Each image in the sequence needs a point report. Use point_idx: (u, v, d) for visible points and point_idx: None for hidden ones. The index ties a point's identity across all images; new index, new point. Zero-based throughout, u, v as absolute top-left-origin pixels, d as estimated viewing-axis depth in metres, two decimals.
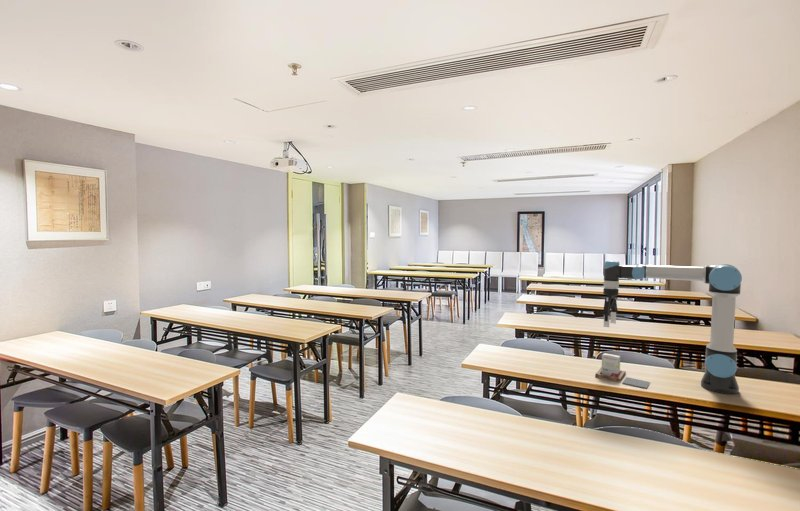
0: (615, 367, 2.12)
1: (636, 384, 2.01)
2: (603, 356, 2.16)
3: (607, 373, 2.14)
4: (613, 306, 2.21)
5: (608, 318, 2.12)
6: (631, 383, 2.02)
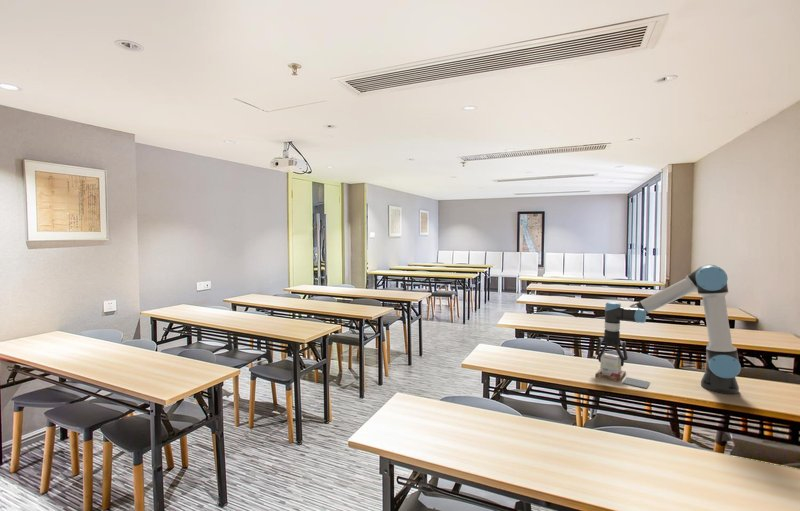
0: (615, 367, 2.12)
1: (636, 384, 2.01)
2: (603, 356, 2.15)
3: (607, 373, 2.14)
4: None
5: (600, 359, 2.18)
6: (631, 383, 2.02)
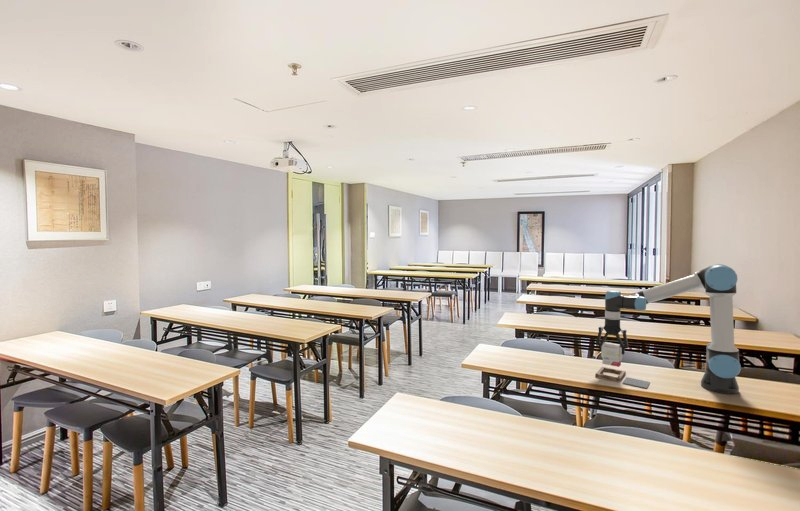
0: (616, 356, 2.11)
1: (636, 384, 2.01)
2: (604, 345, 2.15)
3: (608, 362, 2.14)
4: None
5: (601, 348, 2.17)
6: (631, 383, 2.02)
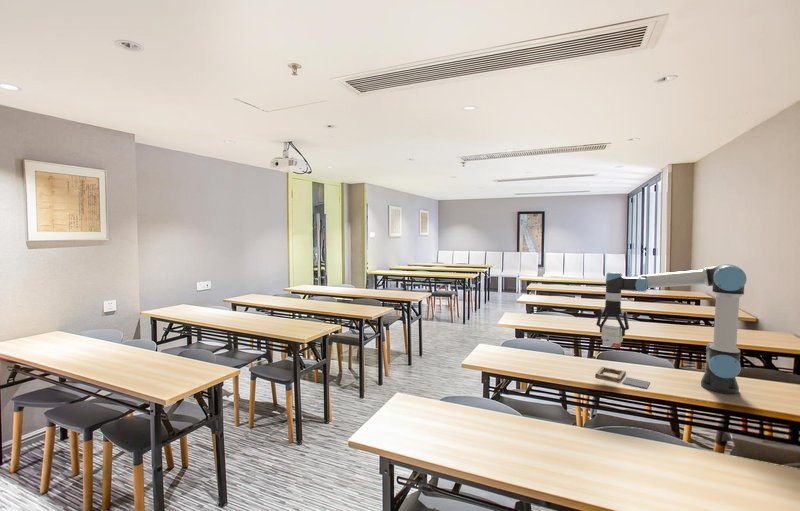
0: (616, 337, 2.11)
1: (636, 384, 2.01)
2: (604, 326, 2.15)
3: (608, 343, 2.13)
4: None
5: (601, 330, 2.17)
6: (631, 383, 2.02)
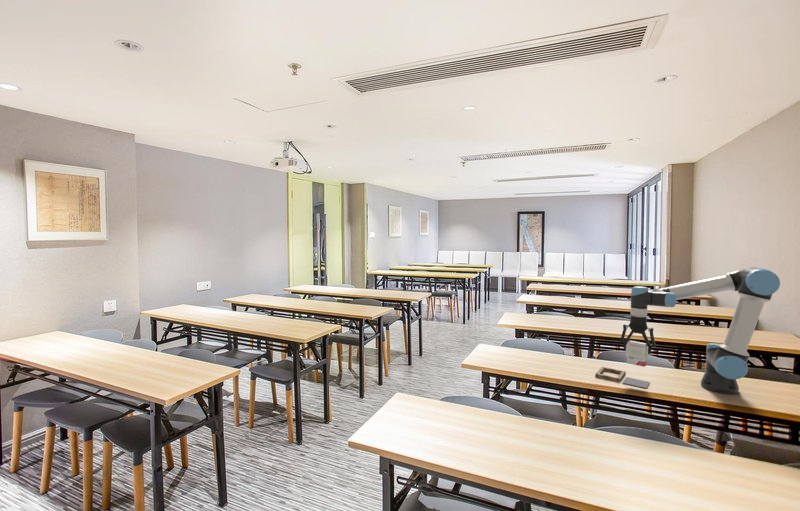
0: (641, 355, 2.00)
1: (636, 384, 2.01)
2: (629, 343, 2.04)
3: (633, 361, 2.02)
4: None
5: (626, 347, 2.06)
6: (631, 383, 2.02)
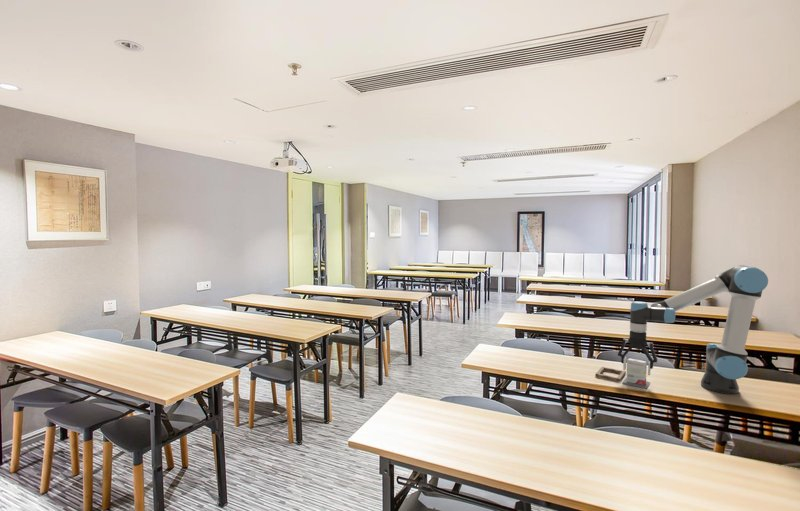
0: (641, 373, 2.00)
1: (636, 384, 2.01)
2: (628, 362, 2.04)
3: (633, 380, 2.03)
4: None
5: (623, 360, 2.07)
6: (631, 383, 2.02)
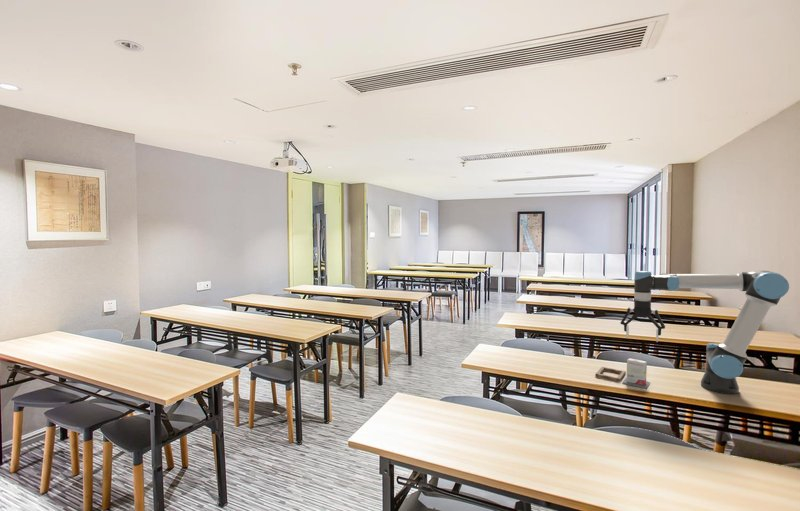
0: (641, 373, 2.00)
1: (636, 384, 2.01)
2: (628, 362, 2.04)
3: (633, 380, 2.03)
4: (652, 321, 2.02)
5: (626, 328, 2.08)
6: (631, 383, 2.02)
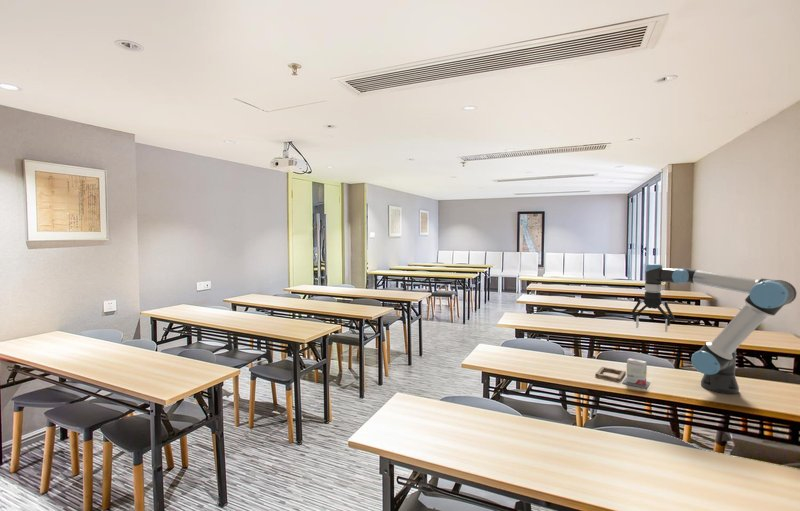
0: (641, 373, 2.00)
1: (636, 384, 2.01)
2: (628, 362, 2.04)
3: (633, 380, 2.03)
4: None
5: (636, 319, 2.17)
6: (631, 383, 2.02)
